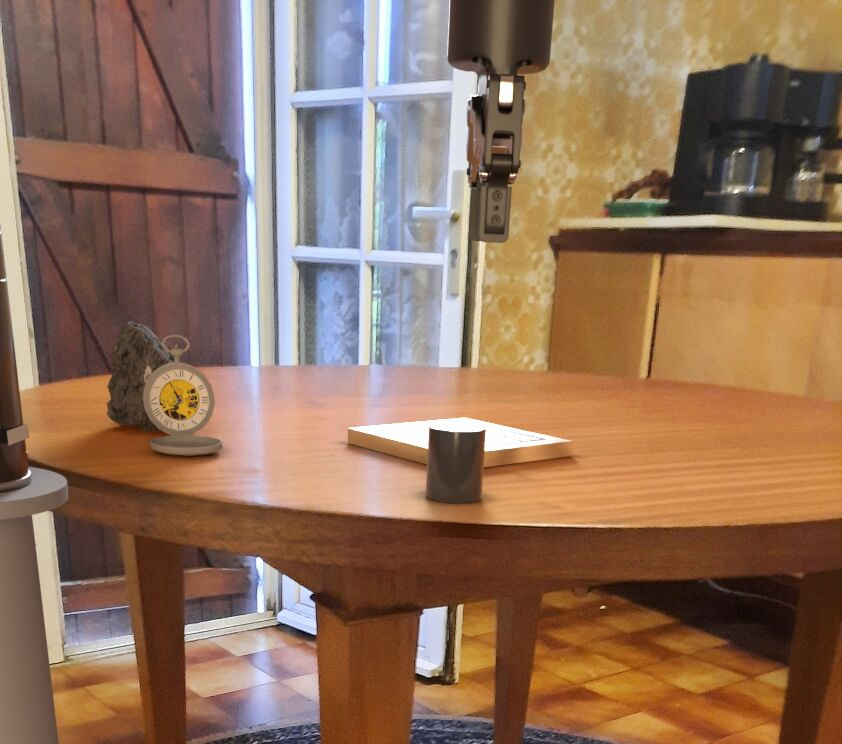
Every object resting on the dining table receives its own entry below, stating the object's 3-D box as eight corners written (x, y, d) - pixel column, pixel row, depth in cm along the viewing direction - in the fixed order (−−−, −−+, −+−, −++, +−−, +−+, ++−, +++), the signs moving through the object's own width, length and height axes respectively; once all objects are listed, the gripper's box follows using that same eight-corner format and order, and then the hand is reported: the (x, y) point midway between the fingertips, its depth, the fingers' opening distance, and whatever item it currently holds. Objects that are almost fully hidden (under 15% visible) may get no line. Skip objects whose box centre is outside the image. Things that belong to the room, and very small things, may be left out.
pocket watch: (184, 461, 96) (177, 343, 92) (123, 448, 100) (114, 335, 96) (249, 450, 102) (246, 339, 98) (189, 439, 106) (183, 331, 102)
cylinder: (451, 506, 85) (455, 433, 82) (414, 494, 88) (416, 424, 85) (493, 499, 87) (498, 429, 85) (455, 488, 91) (459, 420, 88)
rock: (80, 393, 113) (113, 304, 108) (159, 413, 120) (193, 331, 115) (125, 453, 107) (162, 362, 102) (206, 471, 114) (244, 386, 109)
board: (452, 471, 97) (453, 454, 97) (347, 443, 108) (347, 427, 107) (571, 456, 107) (573, 440, 106) (464, 431, 118) (465, 417, 117)
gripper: (443, 6, 82) (434, 239, 89) (457, -36, 70) (444, 240, 77) (540, 12, 83) (522, 243, 90) (571, -29, 70) (548, 245, 77)
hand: (487, 241), depth 83 cm, fingers open, 8 cm apart
